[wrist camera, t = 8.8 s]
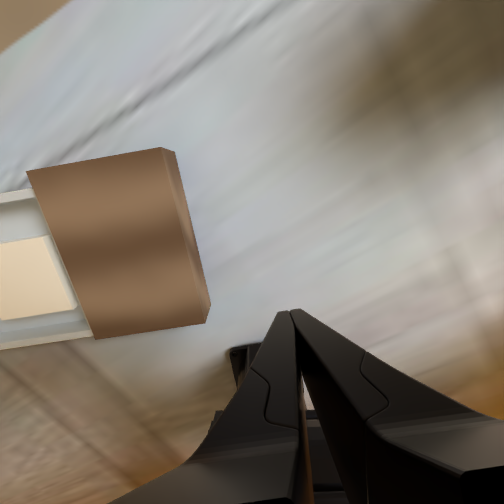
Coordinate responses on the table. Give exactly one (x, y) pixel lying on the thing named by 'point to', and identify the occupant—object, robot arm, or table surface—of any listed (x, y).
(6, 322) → the box
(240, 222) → the table surface
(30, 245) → the block
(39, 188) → the brown rectangular slab
